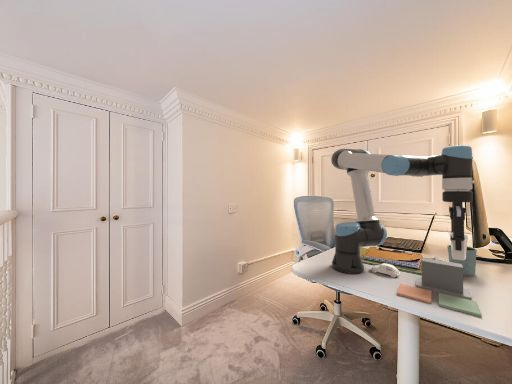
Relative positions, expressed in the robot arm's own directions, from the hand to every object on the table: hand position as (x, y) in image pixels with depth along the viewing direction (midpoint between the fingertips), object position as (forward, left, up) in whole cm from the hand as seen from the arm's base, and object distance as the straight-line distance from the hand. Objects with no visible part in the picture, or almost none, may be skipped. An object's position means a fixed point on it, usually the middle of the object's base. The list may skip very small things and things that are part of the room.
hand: (457, 257), depth 71 cm
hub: (-4, +11, -16) cm, 20 cm away
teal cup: (+4, +41, -17) cm, 44 cm away
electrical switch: (-5, +24, -17) cm, 30 cm away
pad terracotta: (-12, 0, -16) cm, 20 cm away
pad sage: (0, 0, -16) cm, 16 cm away
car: (-24, +16, -17) cm, 34 cm away
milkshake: (0, 0, 0) cm, 0 cm away
